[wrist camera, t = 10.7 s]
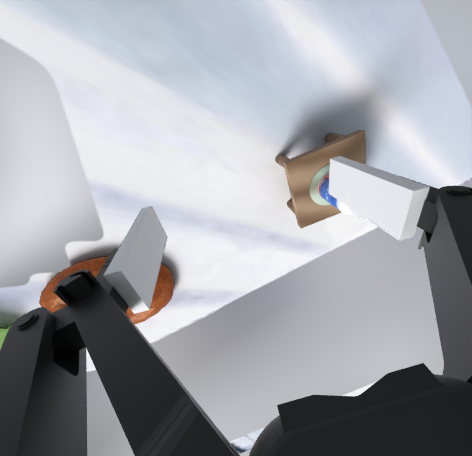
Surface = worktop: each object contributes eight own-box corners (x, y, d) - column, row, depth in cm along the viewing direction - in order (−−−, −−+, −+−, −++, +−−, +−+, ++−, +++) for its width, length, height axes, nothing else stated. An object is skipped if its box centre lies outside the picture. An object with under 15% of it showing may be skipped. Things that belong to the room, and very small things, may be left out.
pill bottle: (323, 168, 35) (361, 185, 27) (349, 171, 36) (394, 189, 28) (312, 197, 38) (344, 222, 29) (337, 200, 39) (375, 224, 31)
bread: (23, 281, 47) (-11, 313, 40) (146, 232, 46) (135, 256, 39) (90, 331, 59) (74, 363, 51) (190, 293, 58) (188, 321, 50)
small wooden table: (271, 154, 41) (286, 164, 34) (335, 127, 41) (366, 131, 33) (286, 211, 49) (301, 229, 41) (341, 188, 48) (367, 202, 40)
